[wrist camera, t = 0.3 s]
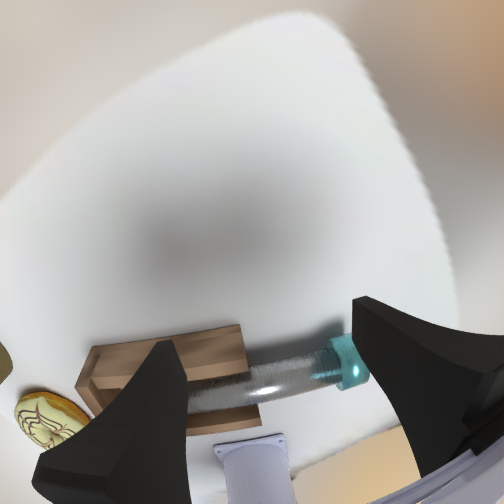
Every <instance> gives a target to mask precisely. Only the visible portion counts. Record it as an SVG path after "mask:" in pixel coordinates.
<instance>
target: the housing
mask: <svg viewBox="0 0 504 504" xmlns="http://www.w3.org/2000/svg"><path fill="white" fill-rule="evenodd" d="M170 339H172V341H173V343H174V346H175V349H176V351H177V354H178V356H179V358H180V361H181V363H182V366H183V368H184V371H185V373H186V375H187V381H193V380H200V379H206V378H213V377H219V376H225V375H230V374H236V373H241V372H246V371H249V368H248V367H249V364H248V360H247V355H246V351H245V346H244V342H243V337H242V333H241V328H240V324H239V325H234V326H228V327H223V328H218V329H212V330H207V331H201V332H195V333H189V334H183V335H177V336H170V337H164V338H157V339H150V340H143V341H135V342H127V343H119V344H111V345H102V346H92V348H91V350H90V353H89V355H88V357H87V359H86V361H85V364H84V366H83V368H82V371H81V373H80V375H79V378H78V380H77V382H76V385H75V387H74V388H75V389H76V391H77V392H78V393H79V395H80V396H81V398H82V399H83V401H84V402H85V403H86V405H87V406H88V408H89V409H90V410H91V412H92V413H93V414H94V416H95V417H96V416H98V415H99V414H100V413H101V412H102V411H103V410H104V409H105V408H106V407H107V406H108V405H109V404H110V403H111V402H112V401H113V400H114V399H115V398H116V396H117V395H118V394H119V393H120V392H121V390H122V389H123V388H124V387H125V385H126V384H127V383H128V382H129V380H130V379H131V378H132V377H133V375H134V374H135V372H136V371H137V370H138V368H139V367H140V365H141V364H142V363H143V361H144V360H145V358H146V357H147V355H148V354H149V352H150V351H151V350H152V348H153V347H154V345H155V344H156V343H157V341H164V340H170ZM257 426H262V422H261V418H260V413H259V409H258V404H253V405H248V406H243V407H237V408H231V409H225V410H219V411H212V412H205V413H197V414H188V415H187V429H186V436H196V435H205V434H213V433H221V432H227V431H234V430H240V429H246V428H251V427H257Z"/></svg>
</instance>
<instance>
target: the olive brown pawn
mask: <svg viewBox="0 0 504 504" xmlns="http://www.w3.org/2000/svg"><path fill="white" fill-rule="evenodd" d="M12 369H13V365H12V360H11V358H10V356H9V354H8V352H7V350H6V349H5V347H4V346H3V345H2V344H1V342H0V384H1V383H2V382H3V381H4V380H5V379H6V378H7V376H8V375H9V374H10V373H11V372H12Z"/></svg>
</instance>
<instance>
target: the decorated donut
mask: <svg viewBox="0 0 504 504" xmlns="http://www.w3.org/2000/svg"><path fill="white" fill-rule="evenodd" d="M14 416H15V419H16V421H17V423H18V425H19V426H20V428H21V429H22V430H23V431H24V433H25V434H26V435H27V436H28V437H29V438H30V439H31V440H32V441H34V442H35V443H36V444H37V445H39V446H41V447H43V448H44V449H46V450H49V449H51V448H53V447H54V446H56V445H58V444H60V443H62V442H63V441H65V440H66V439H68V438H69V437H71V436H72V435H74V434H75V433H77V432H78V431H79V430H81V429H82V428H83V427H85V426H86V425H87V424H88V423H89V422H91V421H90V420H89V419H88V417H87V416H86V414H84V413H83V412H82V411H81V410H80V409H79V408H78V407H77V406H76V405H75V404H73V403H72V402H71V401H70V400H68V399H63V398H62V397H60V396H57V395H55V394H51V393H49V392H36V393H31V394H27V395H25V396H24V397H22V398H21V399H20V400H19V401H18V403H17V405H16V407H15V410H14Z"/></svg>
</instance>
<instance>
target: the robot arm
mask: <svg viewBox="0 0 504 504" xmlns="http://www.w3.org/2000/svg"><path fill="white" fill-rule="evenodd" d="M352 341H353V343H354V345H355V347H356V349H357V351H358V353H359V355H360V357H361V359H362V360H363V362H364V363H365V365H366V366H367V368H368V369H369V371H370V372H371V374H372V375H373V377H374V378H375V379H376V381H377V382H378V384H379V385H380V387H381V388H382V390H383V391H384V393H385V394H386V396H387V397H388V399H389V401H390V402H391V404H392V406H393V408H394V410H395V412H396V414H397V416H398V418H399V420H400V422H401V425H402V427H403V429H404V431H405V434H406V436H407V438H408V441H409V444H410V446H411V448H412V451H413V454H414V457H415V460H416V463H417V466H418V469H419V472H420V476H421V479H420V480H418V481H416V482H414V483H412V484H410V485H408V486H406V487H404V488H402V489H400V490H398V491H396V492H394V493H391V494H389V495H387V496H385V497H382V498H380V499H378V500H375V501H373V502H370V503H368V504H416V503H418V502H420V501H422V500H423V499H425V498H427V497H428V498H427V499H425V500H424V501H422V502H421V504H497V503H498V502H499V501H500V500H501V499H502V498H504V335H485V334H475V333H469V332H464V331H458V330H454V329H450V328H446V327H442V326H439V325H435V324H432V323H429V322H427V321H424V320H421V319H419V318H416V317H414V316H411V315H409V314H406V313H404V312H402V311H399V310H397V309H395V308H393V307H391V306H388V305H386V304H384V303H382V302H380V301H377V300H375V299H373V298H370V297H368V296H363V297H360V298H356V299H353V300H352ZM187 413H188V384H187V375H186V373H185V371H184V368H183V366H182V363H181V361H180V358H179V356H178V354H177V351H176V349H175V346H174V343H173V341H172V339H170V340H164V341H157V343H156V344H155V345H154V347H153V348H152V350H151V351H150V352H149V354H148V355H147V357H146V358H145V360H144V361H143V363H142V364H141V365H140V367H139V368H138V370H137V371H136V372H135V374H134V375H133V377H132V378H131V379H130V380H129V382H128V383H127V384H126V385H125V387H124V388H123V389H122V390H121V392H120V393H119V394H118V395H117V396H116V398H115V399H114V400H113V401H112V402H111V403H110V404H109V405H108V406H107V407H106V408H105V409H104V410H103V411H102V412H101V413H100V414H99V415H98V416H96V417H95V418H94V419H93V420H92V421H91V422H89V423H88V424H87V425H86V426H85V427H83V428H82V429H81V430H79V431H78V432H77V433H75V434H74V435H72V436H71V437H69V438H68V439H66V440H65V441H63V442H62V443H60V444H58V445H56V446H54V447H53V448H51V449H49V450H47V451H45V452H43V453H41V454H40V456H39V459H38V462H37V465H36V468H35V471H34V475H33V478H32V485H33V487H34V488H35V490H37V492H38V493H39V494H41V495H42V496H43V497H45V498H46V499H47V500H49V501H51V502H52V503H53V504H192V502H191V496H190V490H189V482H188V474H187V463H186V429H187ZM213 448H214V452H215V453H216V455H217V457H218V459H219V461H220V462H221V464H222V466H223V468H224V470H225V479H226V488H227V496H228V504H298V503H297V500H296V496H295V492H294V489H293V485H292V481H291V478H290V474H289V471H288V468H289V463H288V456H287V450H286V443H285V437H284V435H283V434H279V435H275V436H270V437H265V438H260V439H255V440H249V441H243V442H237V443H231V444H224V445H217V446H214V447H213ZM429 496H430V497H429Z"/></svg>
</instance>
